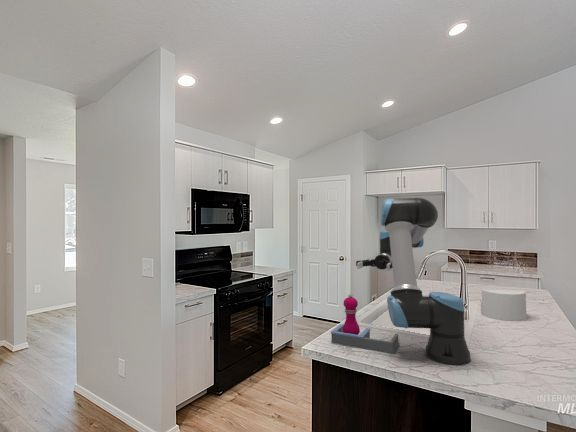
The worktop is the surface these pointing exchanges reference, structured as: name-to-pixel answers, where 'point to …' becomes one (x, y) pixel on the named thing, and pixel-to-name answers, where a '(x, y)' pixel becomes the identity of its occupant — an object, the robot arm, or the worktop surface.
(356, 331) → the pepper mill
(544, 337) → the worktop surface
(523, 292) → the container
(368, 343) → the divider rack
